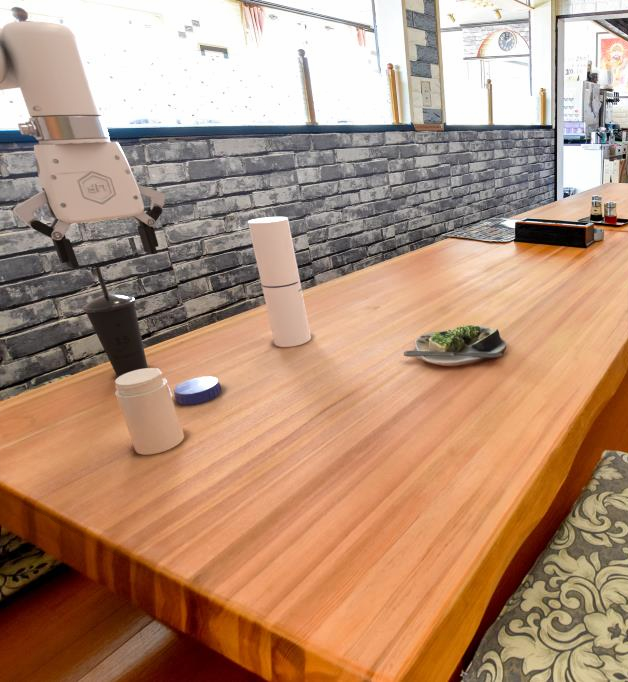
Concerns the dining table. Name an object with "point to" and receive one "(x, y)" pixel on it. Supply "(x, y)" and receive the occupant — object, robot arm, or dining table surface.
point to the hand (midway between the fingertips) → (113, 259)
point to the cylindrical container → (280, 280)
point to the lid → (197, 390)
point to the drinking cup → (117, 329)
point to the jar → (148, 411)
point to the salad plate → (459, 346)
